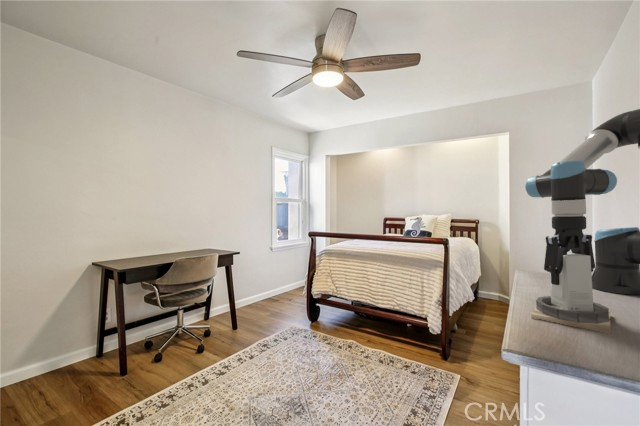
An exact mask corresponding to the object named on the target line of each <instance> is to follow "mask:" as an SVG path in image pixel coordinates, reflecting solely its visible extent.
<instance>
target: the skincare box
mask: <svg viewBox="0 0 640 426" xmlns="http://www.w3.org/2000/svg"><path fill="white" fill-rule="evenodd" d="M556 269H557V268H556ZM548 273H549V285H550V286H549V288H550V296H551V303H552V304H554V305H556V306H558V307H560V308H562V309H565V310H571V311H578V312H594V310H593V302H594V295H593V288H592V275H593V274H592V272H591V256H588V255H582V254H576V253H572V251H571V252H570V251H569V252H567V255H563V268H562V271H561V274H564V297H558V296H555V295H553V294H552V283H551V273H550V272H548Z"/></svg>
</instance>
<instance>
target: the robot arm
mask: <svg viewBox="0 0 640 426" xmlns="http://www.w3.org/2000/svg"><path fill="white" fill-rule="evenodd" d="M636 144H637V148H638V149H639V150H640V108H637V109H635V110H629V111H626V112H622V113H620V114H618V115H616V116H614V117H612V118H609V119H608V120H606V121H605V122H603V123H602V124H599V126H596V127H595V128H594V129H593V130H591V131H590V132H589V133H587V135H586V136H585V137H584V141H582V142H581V143H580V144H579V145H577V146H576V147H575V148H574V149H572V150H571V151H570V152H569V153H568V154H566V155H565V156H564V157H563V158H561V159H560V160H559V161H558V162H555V163H552V165H551V166H550V168H549V169H548V170H547V171H545V172H544V173H543V174H541V175H539V174H538V175H535V176H531V177H529V178H528V179H527V180H526V182H525V186H524V187H525V191H526V193H527V195H528V196H530V197H531V198H542V199H543V198H550V199H551V215H553V216H552V217H551V227H552V229H554V231H555V232H554V235H551V236H549V235H547V236H545V243H546V247H545V256H544V264H543V265H544V267H543V269H544V271H546V272H548V273H549V272H550V273H551V283H552V294H553V295H555V296H558V297H564V274H561V271H562V268H563V255H567V252H570V251H571V253H576V254H582V255H588V256H591V273H592V274H591V275H592V289H595V290H597V291H601V292H602V291H603V292H607V293H613V294H621V295H633V296H634V295H635V296H636V295H637V296H640V228H639V227H638V226H636V227H635V226H634V227H617V228H605V229H603V228H602V229H598V230H596V231H595V233H594V240H593V236H592V235H593V234H586V233H585V234H584V232H583V230H586V229H587V217H586V216H584V215H586V214H587V200H586V196H588V195H591V196H592V195H594V196H597V195H598V196H599V195H605V194H608V193H610V192H612V191H613V190H614V189H615V188H616V186H617V183H618V179H617V178H618V177H617V176H616V174H615V173H614V172H613V171H611V170H608V169H603V168H589V167H591V166H592V165H593V164H594V163H596V161H598V159H600V158H602V156H604V155H605V154H608V153H611V152H613V151H614V150H616V149H618V148H621V147H625V146H630V145H636ZM592 241H594V250H593V244H592V243H593V242H592ZM594 256H595V257H594ZM556 268H557V269H556ZM550 273H549V274H550Z"/></svg>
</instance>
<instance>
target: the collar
mask: <svg viewBox="0 0 640 426" xmlns="http://www.w3.org/2000/svg"><path fill="white" fill-rule="evenodd" d="M535 304H536V307H535V308H534V309H533V311H532V312H531V314H530V315H531V316H530V317H531V319H534V318H536V319H535V320H539V319H542V320H541V321H544V320H547V321H546V322H549V321H551V322H550V323H554V322H556V323H555V324H559V323H560V324H559V325H563V326H564V325H566V326H570V327H576V328H581V329H586V330H589V331H597V332H601V333H606V334H611V320H610V319H611V315H612V314H611V311H610V309H609V308H608V307H607V306H605V305H603V304H601V303H598V302H594V301H593V310H594V312H578V311H571V310H565V309H562V308H560V307H558V306H556V305H554V304H552V303H551V295H547V296H540V297H537V299H536V301H535Z"/></svg>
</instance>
